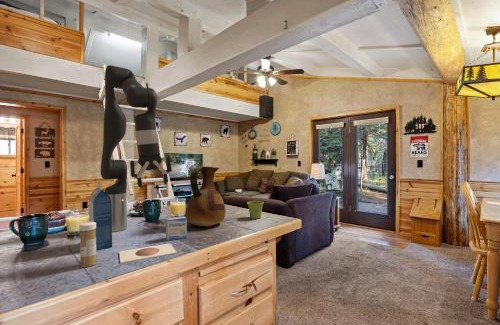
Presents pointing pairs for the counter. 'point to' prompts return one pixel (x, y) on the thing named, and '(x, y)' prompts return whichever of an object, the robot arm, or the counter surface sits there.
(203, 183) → the ceramic pitcher
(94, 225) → the sprinkles bottle
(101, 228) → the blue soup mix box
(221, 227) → the counter surface
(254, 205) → the plant pot
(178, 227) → the medicine box
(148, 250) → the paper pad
